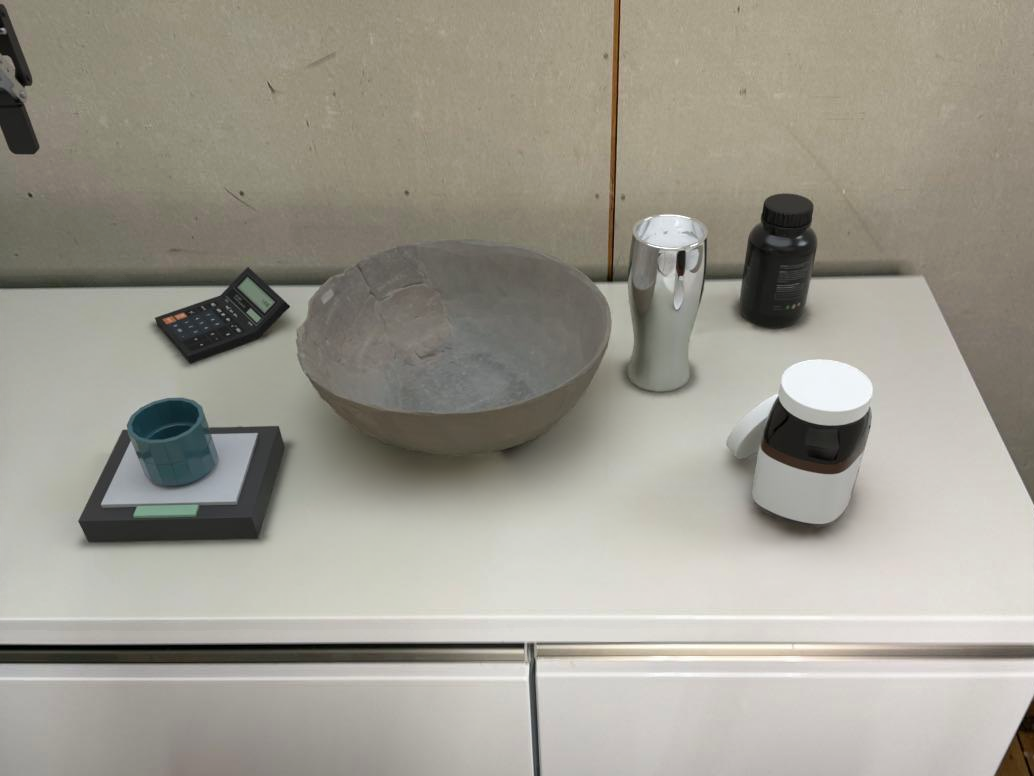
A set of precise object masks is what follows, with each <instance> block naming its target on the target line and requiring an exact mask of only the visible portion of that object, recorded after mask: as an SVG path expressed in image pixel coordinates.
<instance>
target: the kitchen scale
mask: <svg viewBox="0 0 1034 776" xmlns="http://www.w3.org/2000/svg"><path fill="white" fill-rule="evenodd" d="M209 429H210V432H211V435H212V438H213V441H214V444H215V447H216V451H217V454H218V459H217V461H216V464H215V466H214V467H213V468H212V470H211V471H210V472H209V474H208V475H206V476H205V477H204V478H202V479H201V480H199V481H197V482H195V483H192V484H189V485H186V486H180V487H167V486H163V485H160V484H157V483H153V482H152V481H151V480H149V479H148V478H147V477H146V476H145V474H144V471H143V469H142V467H141V464H140V462H139V459H138V457H137V454H136V452H135V449H134V447H133V444H132V442H131V439H130V437H129V434H128V431H127V429H122V431H121V432H120V434H119V437H118V439H117V440H116V443H115V445H114V447H113V449H112V451H111V452H110V455H109V457H108V459H107V461H106V463H105V465H104V468H103V469H102V472H101V474H100V476H99V478H98V480H97V482H96V483H95V486H94V487H93V489H92V492H91V494H90V496H89V498H88V500H87V502H86V504H85V506H84V508H83V510H82V512H81V514H80V516H79V518H78V521H77V522H78V524H79V527H80V528H81V530H82V533H83V534H84V536H85V539H86V540H87V542H88V543H110V542H111V543H112V542H114V543H115V542H151V541H155V542H157V541H197V540H199V541H201V540H237V539H239V540H240V539H241V540H242V539H259V538H260V537H259V536H260V534H261V533H260V532H261V529H262V526H263V522H264V518H265V515H266V512H267V509H268V506H269V501H270V498H271V495H272V491H273V488H274V484H275V481H276V477H277V473H278V470H279V467H280V464H281V461H282V456H283V453H284V451H285V450H284V449H285V443H284V439H283V436H282V432H281V428H280V425H261V426H260V425H259V426H219V427H218V426H216V427H215V426H214V427H209Z"/></svg>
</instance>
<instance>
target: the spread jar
mask: <svg viewBox="0 0 1034 776" xmlns="http://www.w3.org/2000/svg"><path fill="white" fill-rule="evenodd" d="M873 395H874V386H873V384H872V381H871V380H870V378H869V377H868V376H867V375H866V374H865V373H863V371H861V370H860V369H858V368H857V367H855V366H852V365H850V364H848V363H845V362H841V361H838V360H837V361H836V360H832V359H823V358H822V359H821V358H820V359H817V358H816V359H815V358H813V359H807V360H803V361H799V362H796V363H794V364H791V365H790V366H789V367H787V368H786V369H785V371H784V372H783V373H782V375H781V378H780V383H779V389H778V393H775V394H773V395H771V396H768V398H766V399H764V400H763V401H761V402H760V403H758V404H757V405H756V406H755V407H753V408H752V409H751V410H749V411H748V412H747V413H746V415H744V416H743V417H742V418H741V419H740V420H739V421H738V422H737V424H736V425H735V426H734V427H733V428H732V430H731V431H730V433H729V434H728V436H727V439H726V445H725V446H726V447H727V448H728V450H730V452H731V453H732V454H733V455H734V456H735V457H736V458H737V459H745V458H748V457H751V456H753V455H755V454H756V453H757V457H756V462H755V469H754V474H753V480H752V486H751V488H752V489H751V495H752V501H753V502H754V504H755V505H756V506H757V507H758V509H760V510H761V511H762V512H764V513H765V514H767V515H769V516H770V517H773V519H776V520H778V521H780V522H783V523H786V524H789V525H791V526H792V525H793V526H798V527H803V528H823V527H824V528H825V527H828V526H829V525H832V524H833V523H835V522H836V521H837V520H838V519H840V518H841V516H843V514H844V513H845V511H846V509H847V507H848V505H849V504H850V501H851V499H852V498H851V497H852V495H853V492H854V489H855V486H856V482H857V479H858V475H859V472H860V468H861V464H862V460H863V456H864V453H865V449H866V445H867V443H868V439H869V434H870V431H871V426H872V419H873V413H872V412H873V411H872V408H871V402H872V398H873Z"/></svg>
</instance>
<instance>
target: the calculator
mask: <svg viewBox="0 0 1034 776" xmlns="http://www.w3.org/2000/svg"><path fill="white" fill-rule="evenodd" d="M290 308H291V306H290V305H289V303H287V301H285V300H284V298H283V297H281V296H280V295H279V294H278V293H277V292H276V291H275V290H274V289H273V288H271V287H270V286H269V285H268V284H267V283H266V282H265V281H264V280H263V279H262V278H261V277H260V276H258V275H257V274H256V273H255V271H254V270H252V269H251V268H250V267H249V266H247V267H246V268H245V269H244V270H243V271H242V272H241V273H240V274H239V275H238V276H237V277H236V278H235V279H234V280H233V281H232V282H231V284H230V285H229V286H228V287H227V288H226V289H225V290H224V291H223V292H222V293H221V294H220V295H217V296H214V297H211V298H208V299H206V300H202V301H200V302H197V303H194V304H191V305H187V306H185V307H182V308H178V309H176V310H173V311H170V312H167V313H165V314H162V315H159V316H157V317H154V319H155V320H154V321H155V323H156V325H157V326H158V328H159V329H160V330H161V331H162V332H163V334H164V335H165V336H166V337H167V338H168V339H169V341H170V342H171V343H172V344H173V345H174V347H175V348H176V349H177V350H178V351H179V353H181V355H182V356H183V357H184V358H185V360H187V361H188V363H189V364H190V365H191V364H194V363H196V362H199V361H202V360H204V359H207V358H209V357H212V356H215V355H217V354H220V353H224V352H226V351H228V350H232V349H234V348H237V347H239V346H242V345H245V344H248V343H250V342H253V341H256V340H259V339H260V337H262V336H263V335H264V334H265V332H266V331H268V330H269V329H270V327H272V326H273V325H274V324H275V322H277V321H278V320H279V319H280V317H282V316H283V315H284V314H285V313H286V312H287V311H288V310H289V309H290Z"/></svg>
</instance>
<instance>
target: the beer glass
mask: <svg viewBox="0 0 1034 776" xmlns="http://www.w3.org/2000/svg"><path fill="white" fill-rule="evenodd" d="M631 231H632V234H631V235H632V236H631V241H630V243H631V244H630V248H629V255H628V256H629V257H628V265H627V266H628V268H627V293H628V294H627V295H628V304H629V311H630V318H631V325H632V331H633V346H632V352H631V355H630V359H629V363H628V369H627V376H628V378H629V380H630V381H631V382H632V383H633V384H634V385H635V386H636V387H638V388H640V389H643V390H646V391H649V392H655V393H656V392H657V393H660V392H661V393H662V392H663V393H664V392H671V391H675V390H677V389H680V388H682V387H683V386H685V385H686V384H687V383H688V381H689V380H690V378H691V367H690V359H689V348H690V340H691V336H692V332H693V329H694V325H695V322H696V319H697V316H698V312H699V310H700V306H701V302H702V298H703V294H704V290H705V283H706V277H707V263H708V262H707V260H708V234H709V231H708V227H707V226H706V225H705V224H704V223H703V222H701V220H698V219H697V218H694V217H692V216H688V215H683V214H680V213H679V214H677V213H659V214H653V215H649V216H646V217H642V219H640V220H638V221H637V222H636V223H635V224H634V225H633V227H632V230H631Z"/></svg>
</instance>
